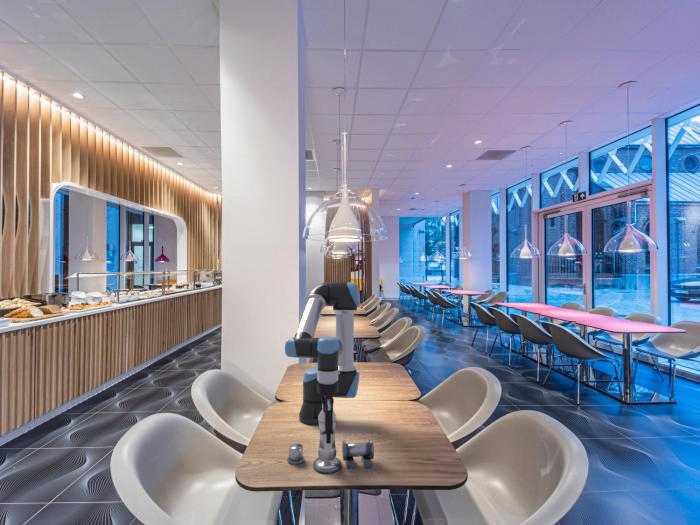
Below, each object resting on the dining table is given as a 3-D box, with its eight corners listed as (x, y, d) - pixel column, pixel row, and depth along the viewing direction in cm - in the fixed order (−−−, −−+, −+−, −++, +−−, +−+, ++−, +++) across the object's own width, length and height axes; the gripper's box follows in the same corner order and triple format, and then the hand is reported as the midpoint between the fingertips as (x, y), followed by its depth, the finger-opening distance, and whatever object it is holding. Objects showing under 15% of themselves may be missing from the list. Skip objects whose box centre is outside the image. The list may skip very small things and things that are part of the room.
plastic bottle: (329, 466, 124) (330, 407, 125) (314, 460, 128) (314, 403, 128) (340, 458, 129) (340, 401, 130) (324, 453, 133) (325, 398, 134)
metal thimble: (283, 461, 131) (284, 447, 131) (294, 455, 136) (294, 441, 136) (296, 466, 128) (296, 452, 128) (307, 459, 133) (307, 445, 133)
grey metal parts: (313, 474, 123) (313, 450, 123) (312, 459, 132) (312, 437, 133) (375, 470, 126) (375, 446, 126) (369, 456, 135) (369, 434, 136)
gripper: (341, 389, 121) (340, 459, 120) (335, 373, 139) (335, 434, 138) (318, 389, 120) (318, 461, 119) (316, 374, 138) (315, 436, 137)
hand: (327, 446), depth 129 cm, fingers closed on plastic bottle, 6 cm apart
